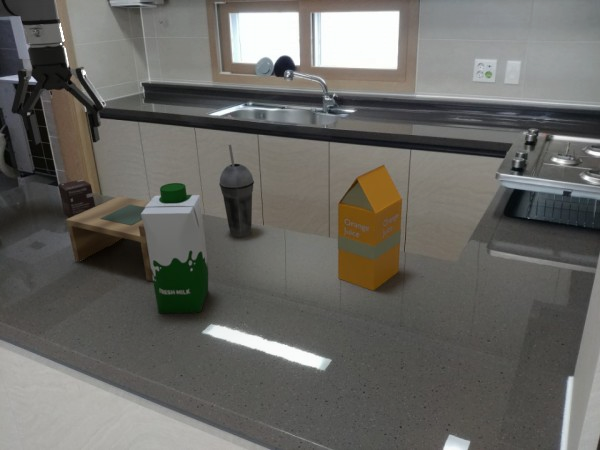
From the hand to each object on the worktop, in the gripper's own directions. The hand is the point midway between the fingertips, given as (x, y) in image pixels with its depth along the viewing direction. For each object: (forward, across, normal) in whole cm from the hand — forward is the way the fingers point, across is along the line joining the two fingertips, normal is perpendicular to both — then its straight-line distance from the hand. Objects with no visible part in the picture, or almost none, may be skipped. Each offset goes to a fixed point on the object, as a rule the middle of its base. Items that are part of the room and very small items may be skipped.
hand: (66, 142), depth 123 cm
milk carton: (+18, +32, -43) cm, 57 cm away
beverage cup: (+18, +40, -15) cm, 46 cm away
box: (+18, -1, +1) cm, 18 cm away
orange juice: (+18, +64, -36) cm, 76 cm away
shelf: (+18, +19, -24) cm, 36 cm away
